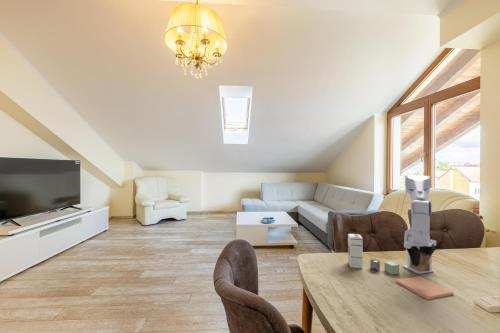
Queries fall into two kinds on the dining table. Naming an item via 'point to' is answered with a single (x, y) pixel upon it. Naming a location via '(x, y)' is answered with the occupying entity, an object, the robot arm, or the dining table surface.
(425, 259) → the walnut block
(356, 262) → the syrup box
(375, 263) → the grey metal cylinder
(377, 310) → the dining table surface
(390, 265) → the sage painted cube
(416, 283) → the terracotta tile
